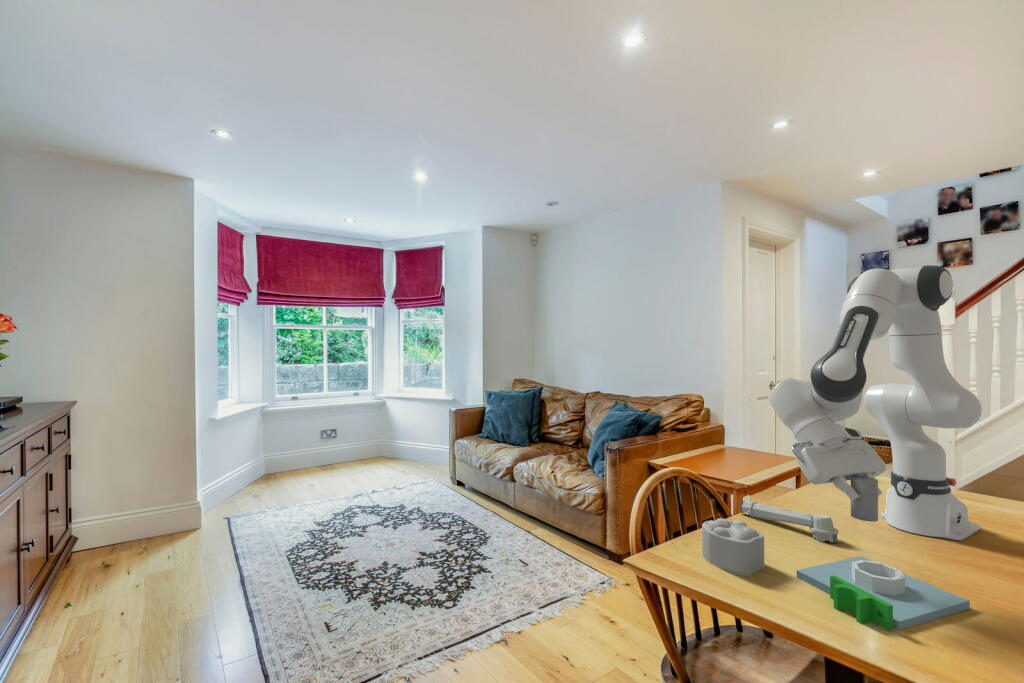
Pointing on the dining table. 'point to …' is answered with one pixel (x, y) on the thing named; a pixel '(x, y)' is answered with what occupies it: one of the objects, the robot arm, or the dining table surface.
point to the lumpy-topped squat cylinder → (733, 546)
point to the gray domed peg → (865, 499)
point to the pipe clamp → (860, 603)
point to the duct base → (902, 604)
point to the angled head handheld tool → (794, 519)
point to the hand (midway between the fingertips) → (867, 497)
